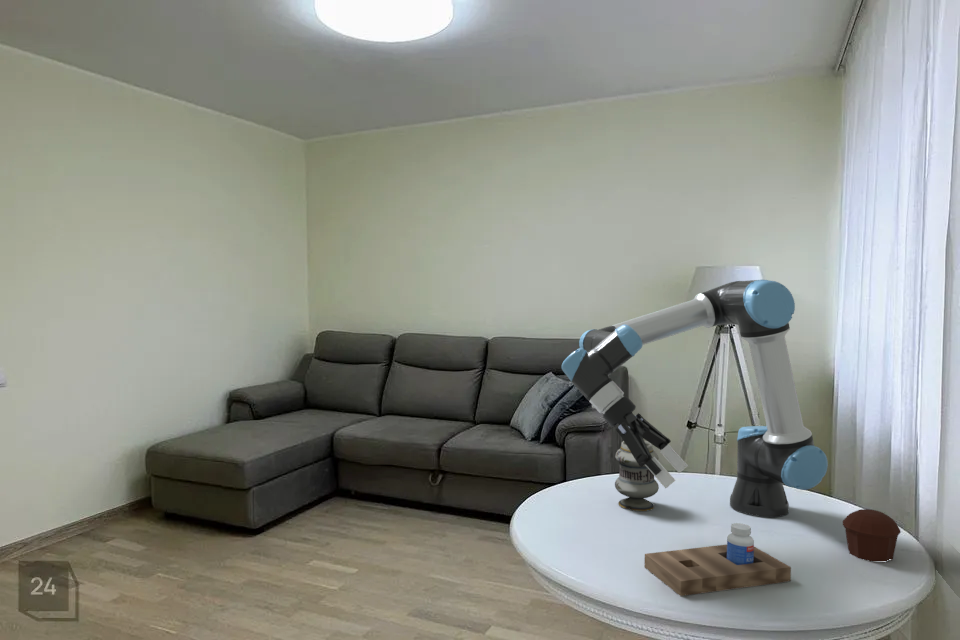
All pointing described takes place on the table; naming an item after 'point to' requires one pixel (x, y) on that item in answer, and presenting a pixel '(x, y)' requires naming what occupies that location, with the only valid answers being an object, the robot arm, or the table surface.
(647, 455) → the robot arm
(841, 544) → the table surface
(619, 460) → the apothecary jar
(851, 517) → the muffin
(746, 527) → the pill bottle
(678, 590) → the socket board
